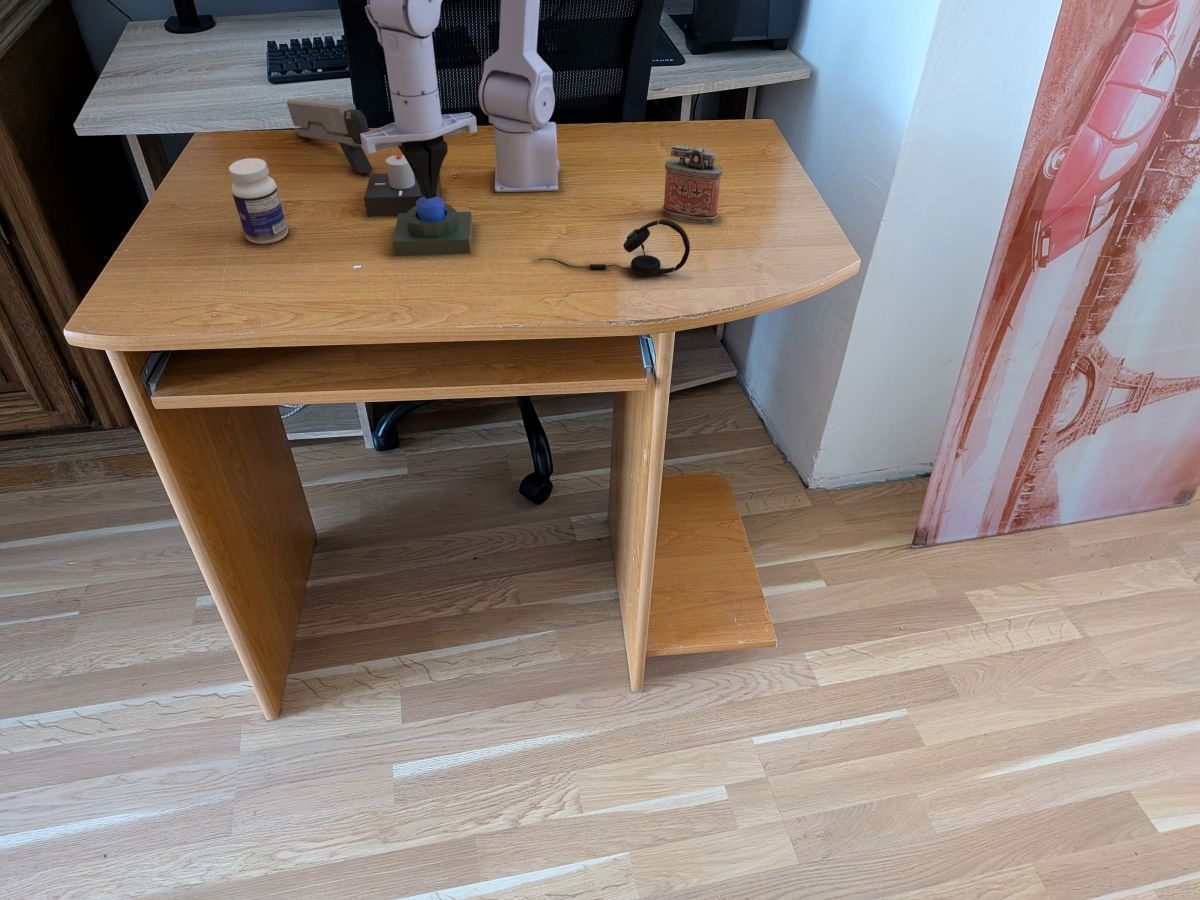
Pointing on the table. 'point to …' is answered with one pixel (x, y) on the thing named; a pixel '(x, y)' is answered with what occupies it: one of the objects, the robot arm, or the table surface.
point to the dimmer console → (391, 196)
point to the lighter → (692, 185)
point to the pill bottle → (257, 201)
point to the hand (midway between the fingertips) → (428, 195)
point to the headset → (644, 262)
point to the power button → (430, 209)
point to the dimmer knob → (399, 172)
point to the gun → (333, 126)
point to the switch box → (433, 234)
